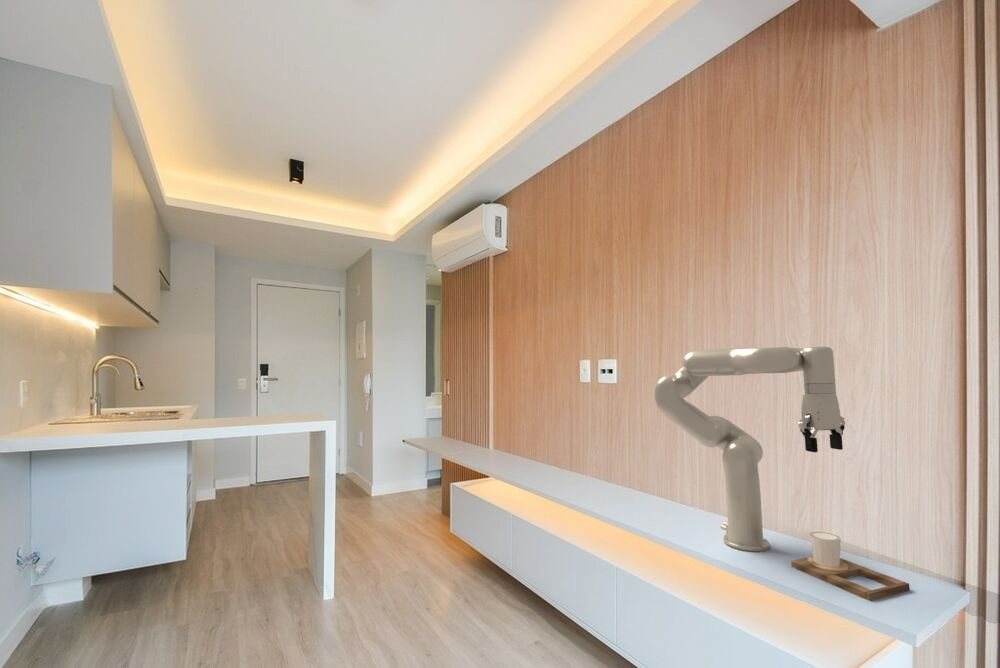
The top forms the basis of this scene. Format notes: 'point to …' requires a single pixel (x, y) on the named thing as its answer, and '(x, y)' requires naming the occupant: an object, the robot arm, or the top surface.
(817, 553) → the cream short cylinder
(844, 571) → the pocket board
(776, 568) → the top surface
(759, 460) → the robot arm
